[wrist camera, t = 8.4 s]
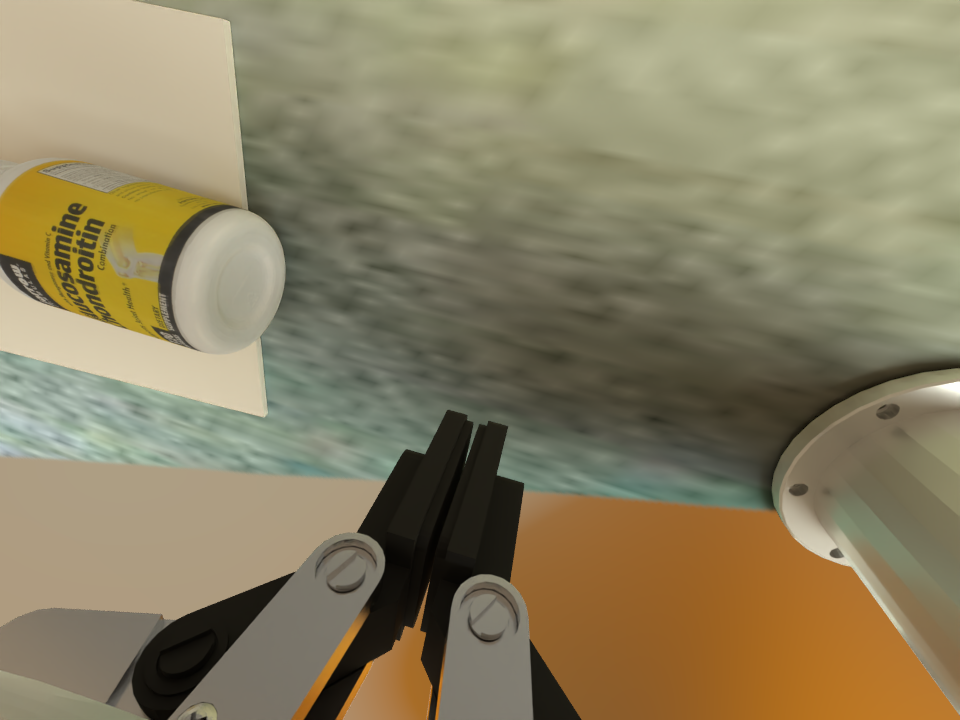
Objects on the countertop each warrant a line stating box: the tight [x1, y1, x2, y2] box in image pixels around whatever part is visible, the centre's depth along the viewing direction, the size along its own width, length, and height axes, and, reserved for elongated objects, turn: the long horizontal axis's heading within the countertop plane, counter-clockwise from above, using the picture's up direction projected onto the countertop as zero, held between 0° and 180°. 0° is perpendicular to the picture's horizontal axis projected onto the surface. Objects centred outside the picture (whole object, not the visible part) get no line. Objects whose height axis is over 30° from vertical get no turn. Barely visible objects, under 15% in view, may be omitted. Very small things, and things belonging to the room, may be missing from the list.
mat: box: [0, 0, 268, 417], centre depth 21 cm, size 24×20×1 cm
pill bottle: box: [0, 158, 286, 355], centre depth 18 cm, size 6×6×12 cm
